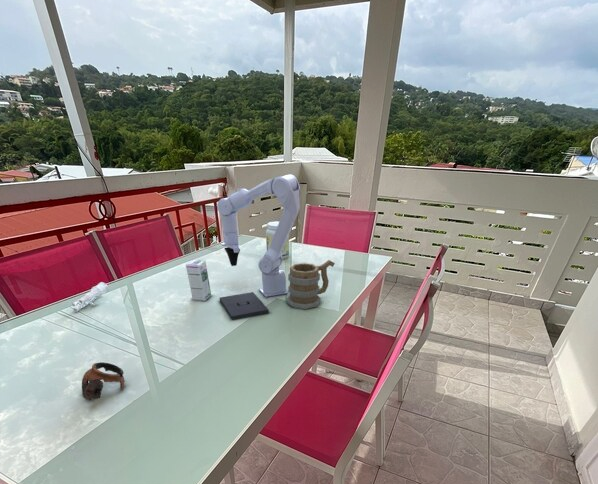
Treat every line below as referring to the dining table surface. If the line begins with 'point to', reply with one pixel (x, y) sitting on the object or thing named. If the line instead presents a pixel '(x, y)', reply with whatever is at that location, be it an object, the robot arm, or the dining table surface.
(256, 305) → the charcoal pad
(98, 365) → the brown looped strap
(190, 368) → the dining table surface
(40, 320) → the dining table surface
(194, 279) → the syrup box
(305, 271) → the tankard
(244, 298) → the black pad
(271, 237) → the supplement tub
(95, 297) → the toy cannon
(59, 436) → the dining table surface
